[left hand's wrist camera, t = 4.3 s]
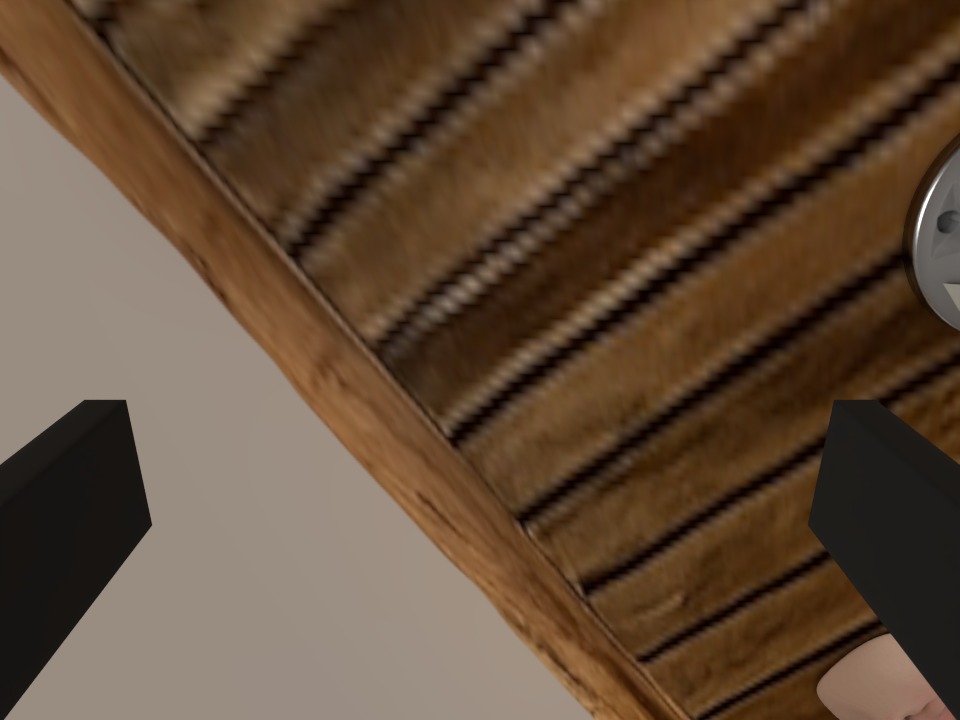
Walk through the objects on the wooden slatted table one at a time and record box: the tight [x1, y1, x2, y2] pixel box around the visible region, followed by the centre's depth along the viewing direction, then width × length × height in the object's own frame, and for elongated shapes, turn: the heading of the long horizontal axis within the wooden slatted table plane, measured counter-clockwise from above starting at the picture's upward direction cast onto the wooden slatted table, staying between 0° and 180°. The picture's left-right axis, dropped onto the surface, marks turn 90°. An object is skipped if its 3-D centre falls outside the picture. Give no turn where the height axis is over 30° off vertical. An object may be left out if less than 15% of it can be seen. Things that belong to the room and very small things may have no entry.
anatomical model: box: [817, 633, 956, 720], centre depth 55 cm, size 13×4×12 cm
